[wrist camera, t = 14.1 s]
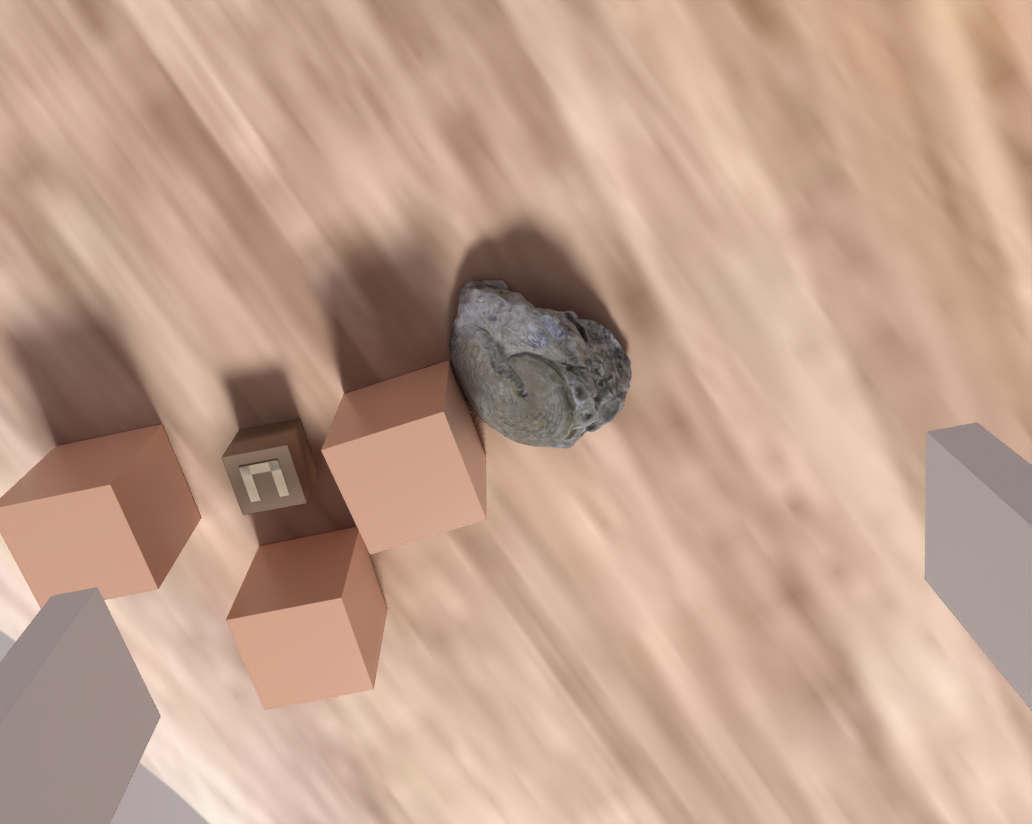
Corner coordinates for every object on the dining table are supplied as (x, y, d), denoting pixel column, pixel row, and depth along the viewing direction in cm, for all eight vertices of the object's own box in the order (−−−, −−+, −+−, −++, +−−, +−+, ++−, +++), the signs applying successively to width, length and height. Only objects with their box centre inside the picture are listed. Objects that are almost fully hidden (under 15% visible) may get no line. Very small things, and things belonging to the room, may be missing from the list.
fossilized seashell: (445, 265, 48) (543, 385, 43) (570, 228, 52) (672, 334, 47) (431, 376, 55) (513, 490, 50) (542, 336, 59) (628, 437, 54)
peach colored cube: (343, 393, 52) (320, 450, 45) (449, 359, 52) (443, 411, 44) (385, 487, 55) (370, 554, 48) (486, 455, 54) (486, 519, 47)
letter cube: (239, 429, 53) (221, 458, 49) (300, 417, 53) (286, 445, 49) (259, 483, 55) (242, 515, 51) (318, 472, 55) (306, 504, 51)
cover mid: (291, 628, 59) (264, 709, 52) (259, 545, 57) (225, 620, 49) (387, 609, 59) (373, 689, 52) (359, 526, 56) (341, 597, 49)
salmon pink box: (56, 445, 53) (-12, 509, 46) (162, 423, 53) (110, 484, 45) (100, 538, 56) (42, 612, 49) (201, 517, 56) (158, 589, 48)
